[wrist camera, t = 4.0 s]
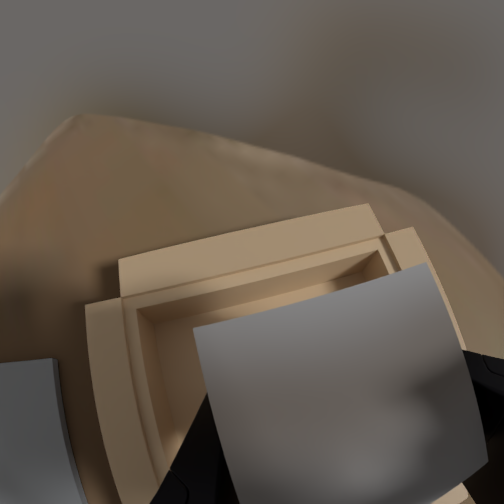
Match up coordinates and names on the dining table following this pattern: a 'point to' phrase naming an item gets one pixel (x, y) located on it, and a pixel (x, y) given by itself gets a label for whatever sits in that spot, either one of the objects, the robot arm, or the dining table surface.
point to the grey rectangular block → (345, 397)
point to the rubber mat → (35, 437)
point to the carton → (213, 311)
